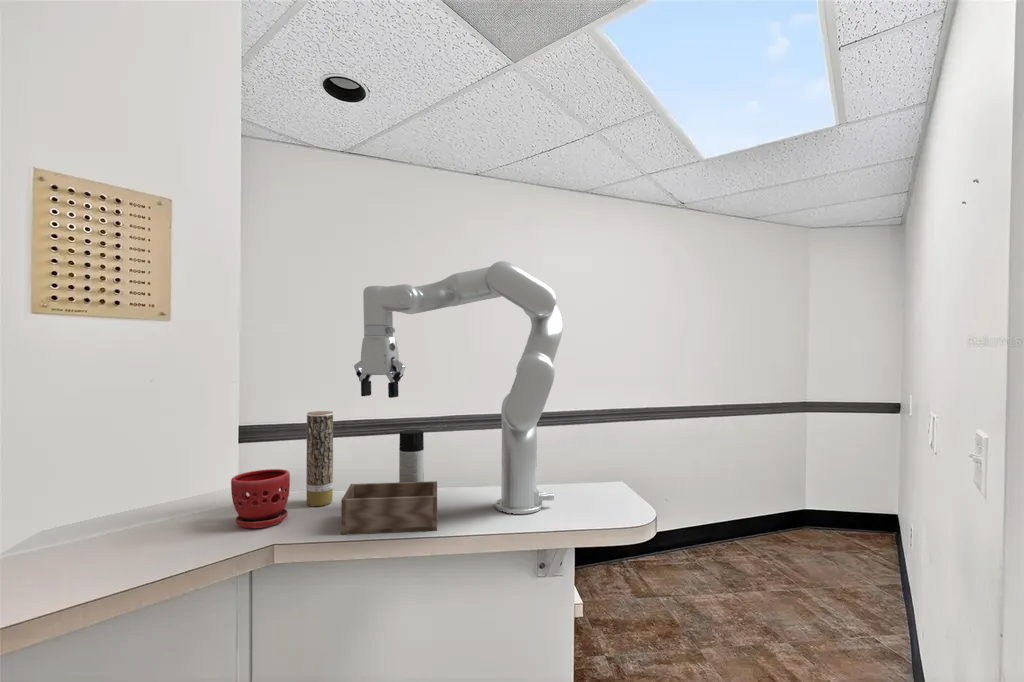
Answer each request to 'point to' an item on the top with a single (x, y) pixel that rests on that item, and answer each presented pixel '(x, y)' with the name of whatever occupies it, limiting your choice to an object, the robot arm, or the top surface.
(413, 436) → the spray can
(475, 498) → the top surface
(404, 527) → the walnut box
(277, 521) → the plant pot
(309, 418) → the paper tube
